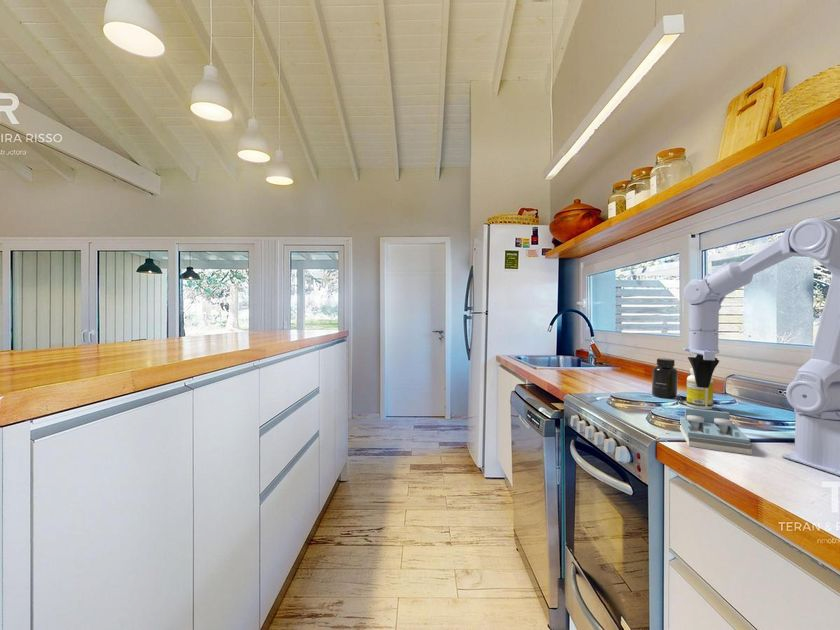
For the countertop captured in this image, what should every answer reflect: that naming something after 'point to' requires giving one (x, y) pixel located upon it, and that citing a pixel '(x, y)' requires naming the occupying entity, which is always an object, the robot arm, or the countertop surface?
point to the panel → (712, 426)
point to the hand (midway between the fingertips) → (702, 387)
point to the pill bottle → (699, 394)
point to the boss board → (715, 444)
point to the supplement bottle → (665, 379)
